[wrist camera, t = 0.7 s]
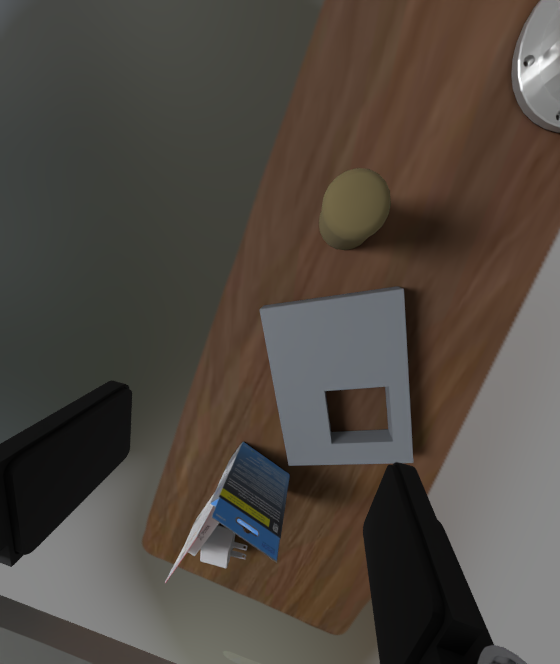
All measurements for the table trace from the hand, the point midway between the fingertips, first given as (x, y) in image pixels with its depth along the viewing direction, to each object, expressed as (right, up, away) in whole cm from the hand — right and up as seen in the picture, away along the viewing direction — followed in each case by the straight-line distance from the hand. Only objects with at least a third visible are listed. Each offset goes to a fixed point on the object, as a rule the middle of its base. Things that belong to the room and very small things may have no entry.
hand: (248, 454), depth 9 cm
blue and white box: (-2, -16, +31) cm, 35 cm away
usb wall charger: (-7, -30, +36) cm, 48 cm away
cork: (+9, +17, +21) cm, 28 cm away
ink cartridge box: (-9, -24, +35) cm, 43 cm away
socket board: (+9, -2, +25) cm, 27 cm away
